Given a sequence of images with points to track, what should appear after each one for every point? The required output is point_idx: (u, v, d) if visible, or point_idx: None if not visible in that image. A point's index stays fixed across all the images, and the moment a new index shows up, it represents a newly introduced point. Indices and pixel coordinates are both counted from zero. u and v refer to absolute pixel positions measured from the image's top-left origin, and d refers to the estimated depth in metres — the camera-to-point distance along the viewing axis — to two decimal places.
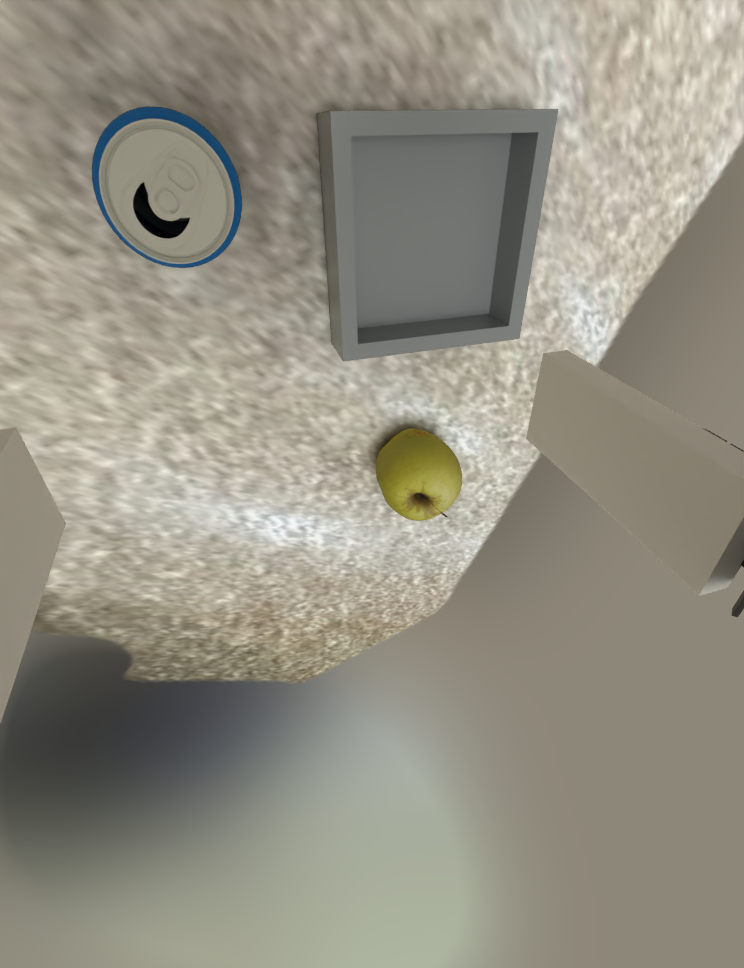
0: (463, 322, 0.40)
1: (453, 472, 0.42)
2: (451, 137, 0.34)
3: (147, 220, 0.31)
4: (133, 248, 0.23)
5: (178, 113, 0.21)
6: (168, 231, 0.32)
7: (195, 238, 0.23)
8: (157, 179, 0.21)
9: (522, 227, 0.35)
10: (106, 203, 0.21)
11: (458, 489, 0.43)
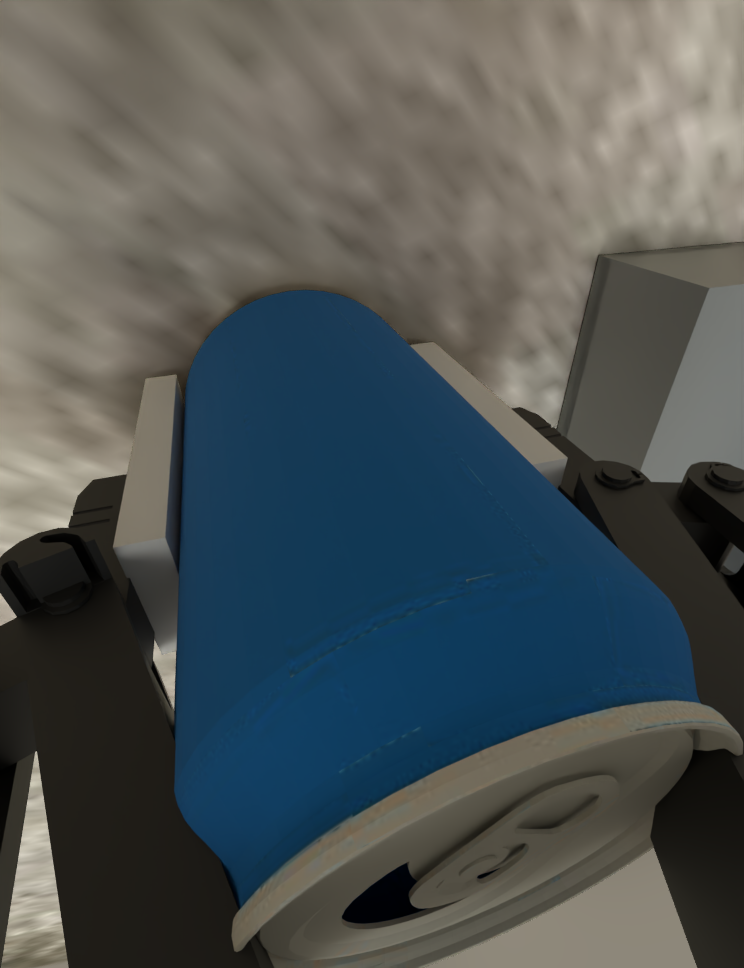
0: (740, 555, 0.24)
1: None
2: None
3: None
4: None
5: (593, 584, 0.04)
6: None
7: (521, 883, 0.06)
8: (467, 846, 0.05)
9: None
10: None
11: None
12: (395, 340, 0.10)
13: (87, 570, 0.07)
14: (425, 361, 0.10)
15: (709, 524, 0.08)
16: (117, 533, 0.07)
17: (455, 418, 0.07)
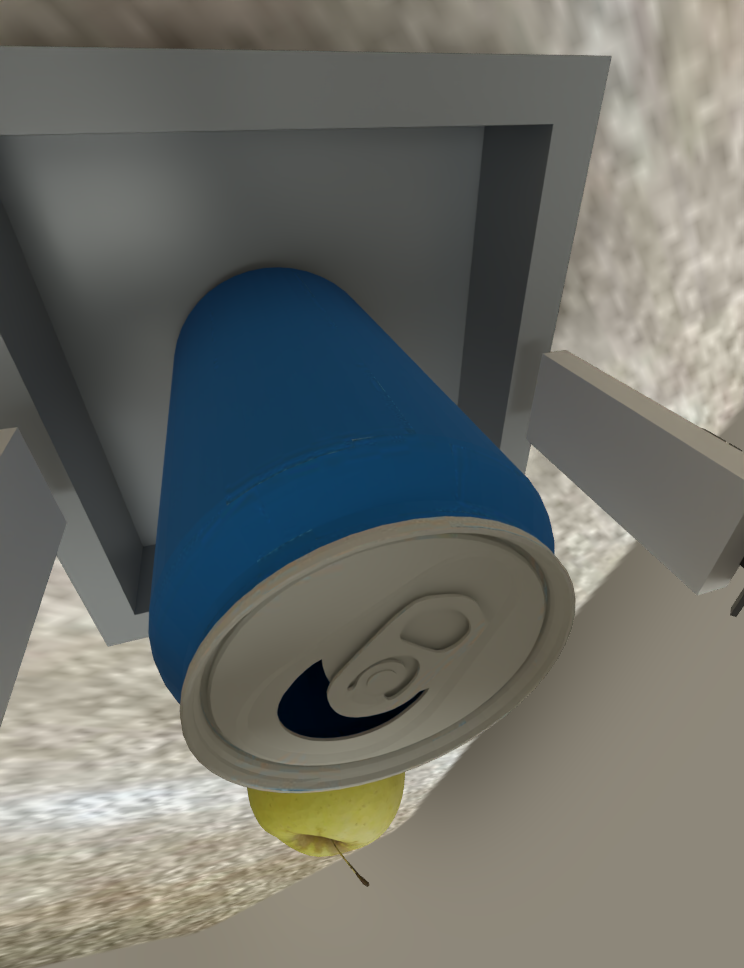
0: None
1: (382, 793, 0.22)
2: (325, 139, 0.13)
3: None
4: None
5: (448, 448, 0.06)
6: None
7: (431, 720, 0.08)
8: (364, 649, 0.06)
9: (511, 355, 0.15)
10: (195, 736, 0.06)
11: (394, 812, 0.23)
12: (350, 306, 0.12)
13: None
14: (375, 323, 0.12)
15: None
16: None
17: (380, 356, 0.09)
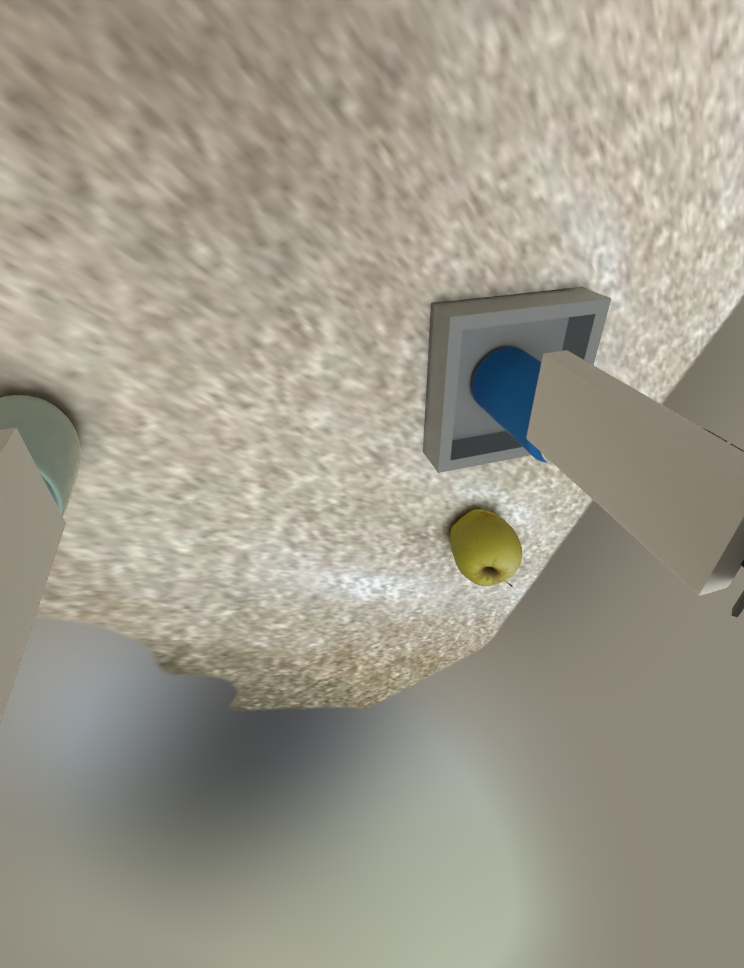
0: None
1: (517, 550, 0.53)
2: None
3: (478, 404, 0.47)
4: (536, 457, 0.40)
5: None
6: None
7: None
8: None
9: None
10: None
11: (520, 562, 0.54)
12: (539, 361, 0.43)
13: None
14: None
15: None
16: None
17: None
